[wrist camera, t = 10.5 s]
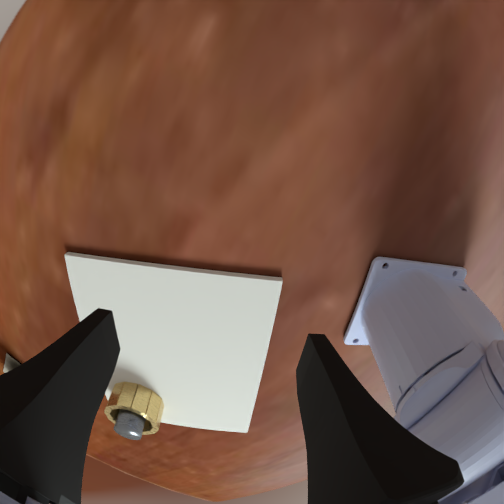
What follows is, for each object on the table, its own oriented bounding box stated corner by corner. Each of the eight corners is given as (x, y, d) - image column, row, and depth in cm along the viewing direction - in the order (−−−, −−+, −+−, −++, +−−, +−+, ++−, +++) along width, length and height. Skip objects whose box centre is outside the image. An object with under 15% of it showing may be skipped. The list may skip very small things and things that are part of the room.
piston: (148, 393, 26) (138, 429, 22) (151, 407, 27) (143, 442, 23) (122, 388, 26) (110, 423, 22) (127, 402, 27) (117, 435, 23)
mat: (282, 277, 20) (282, 281, 19) (247, 429, 29) (247, 432, 29) (67, 251, 19) (64, 254, 19) (113, 408, 28) (112, 411, 28)
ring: (158, 386, 25) (151, 411, 22) (167, 415, 28) (162, 437, 25) (106, 378, 25) (97, 400, 22) (121, 407, 27) (114, 428, 25)
